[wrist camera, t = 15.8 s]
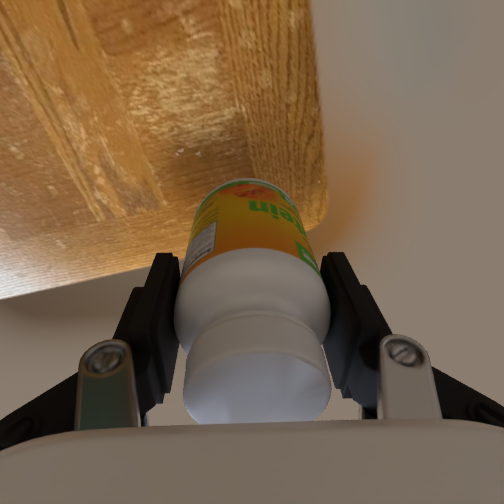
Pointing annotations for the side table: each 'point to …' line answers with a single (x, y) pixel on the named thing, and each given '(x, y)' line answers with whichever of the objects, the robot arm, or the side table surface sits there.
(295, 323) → the supplement bottle
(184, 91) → the side table surface
